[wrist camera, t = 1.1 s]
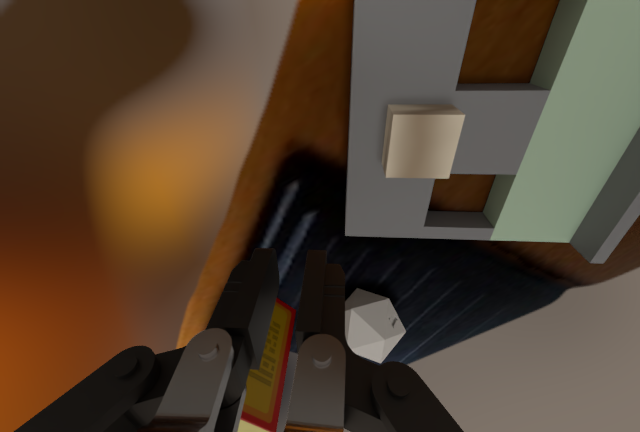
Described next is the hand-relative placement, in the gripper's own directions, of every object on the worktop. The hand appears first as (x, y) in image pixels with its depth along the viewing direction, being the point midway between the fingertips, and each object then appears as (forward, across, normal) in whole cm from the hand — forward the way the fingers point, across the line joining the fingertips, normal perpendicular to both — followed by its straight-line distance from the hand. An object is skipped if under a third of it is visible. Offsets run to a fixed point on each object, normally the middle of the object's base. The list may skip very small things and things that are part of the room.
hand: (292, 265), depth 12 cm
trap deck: (+19, -14, 0) cm, 24 cm away
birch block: (+16, -8, 0) cm, 18 cm away
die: (+19, -6, +25) cm, 32 cm away
